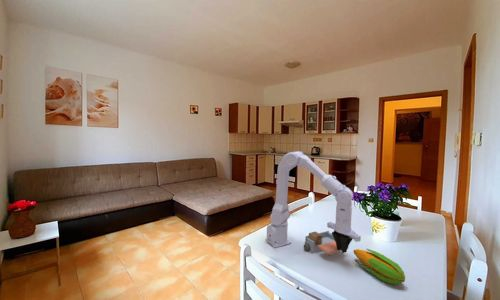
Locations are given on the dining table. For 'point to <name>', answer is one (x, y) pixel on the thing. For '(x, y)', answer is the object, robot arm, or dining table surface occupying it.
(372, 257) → the corn
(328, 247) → the thick rectangular slab
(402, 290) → the dining table surface
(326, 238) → the grey boxy piece
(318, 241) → the block
